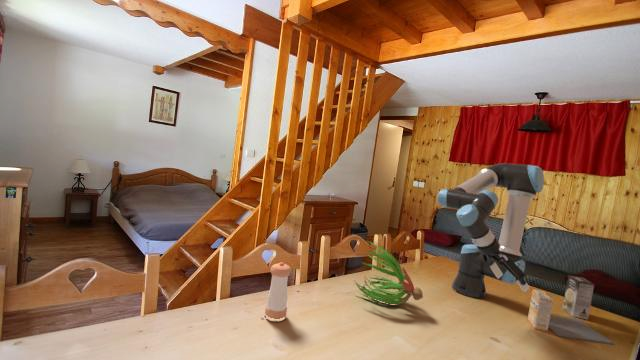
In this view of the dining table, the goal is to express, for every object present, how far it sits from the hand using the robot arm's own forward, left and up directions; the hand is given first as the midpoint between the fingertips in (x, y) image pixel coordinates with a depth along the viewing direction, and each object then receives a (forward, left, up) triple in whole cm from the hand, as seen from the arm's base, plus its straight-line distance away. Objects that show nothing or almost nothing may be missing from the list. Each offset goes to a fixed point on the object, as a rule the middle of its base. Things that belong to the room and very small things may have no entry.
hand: (512, 282), depth 127 cm
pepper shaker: (-88, -22, -17) cm, 92 cm away
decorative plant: (-48, +3, -17) cm, 51 cm away
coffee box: (+41, +22, -17) cm, 49 cm away
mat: (+27, +5, -17) cm, 32 cm away
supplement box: (+13, +3, -17) cm, 22 cm away
